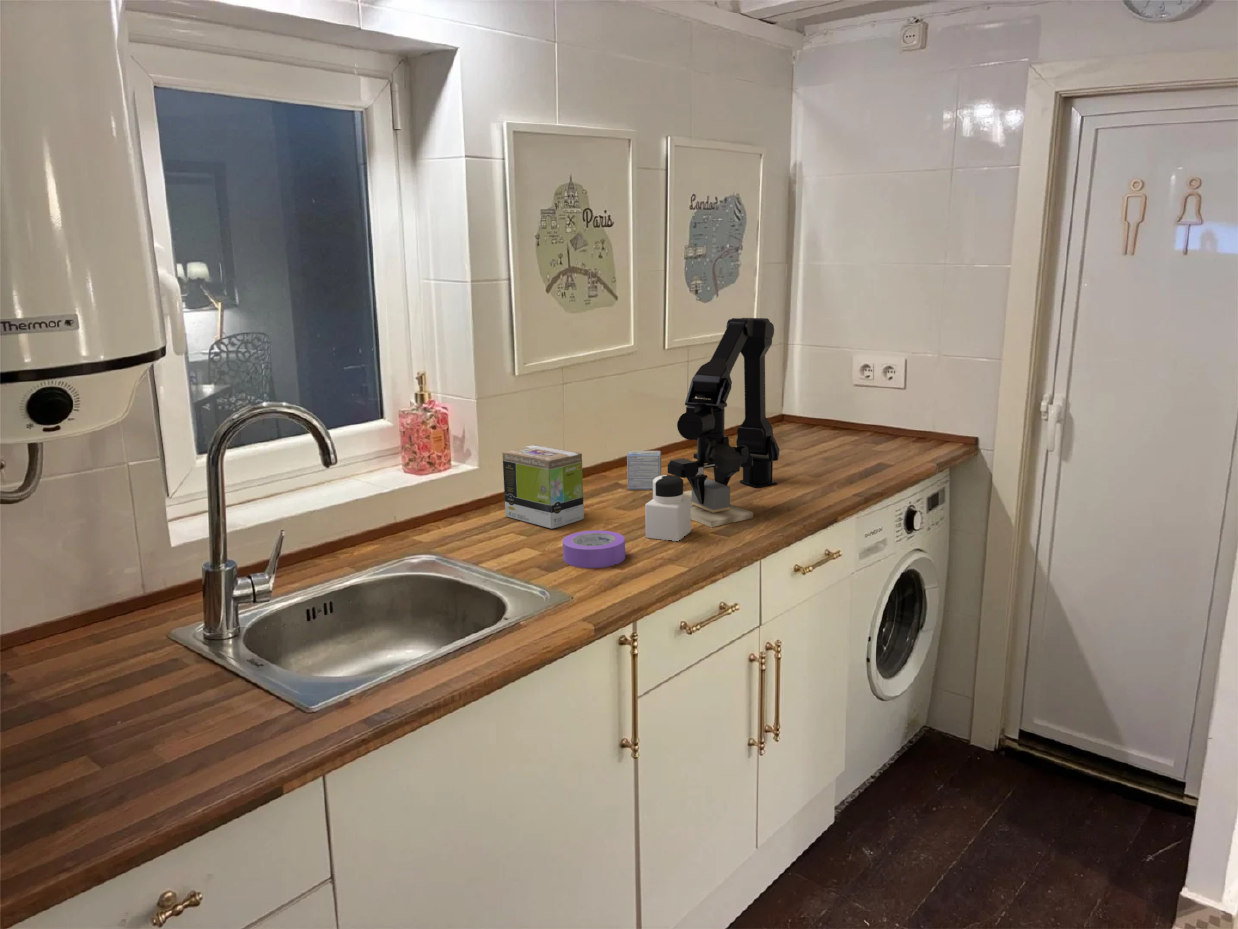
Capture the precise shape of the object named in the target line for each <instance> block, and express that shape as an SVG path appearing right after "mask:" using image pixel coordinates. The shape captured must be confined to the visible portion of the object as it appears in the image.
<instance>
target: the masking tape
mask: <svg viewBox="0 0 1238 929" xmlns="http://www.w3.org/2000/svg"><path fill="white" fill-rule="evenodd" d="M562 559H563V562H564V563H565V564H567V565H569V566H572V567H576V568H582V569H600V568H608V567H612V566H616V565H618V564H619V565H620V563H622V562H624V560H625V559H626V538H625V536H624V535H623V534H621V533H618V532H615V531H610V530H585V531H579V532H578V531H577V532H575V533H571V534H569V535H566V536H565V537H564V538H562ZM615 564H616V565H615Z"/></svg>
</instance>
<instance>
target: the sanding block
mask: <svg viewBox="0 0 1238 929" xmlns="http://www.w3.org/2000/svg"><path fill="white" fill-rule="evenodd" d="M691 490H692V504H693V505H695V506H697V507H700V508H702V509H705V510H707V511H710V512H712V513H715V512H720V511H725V510H730V504H731V486H729V485H727V486H726V485H724V484H721V483H718V482H715V480H712V479H709V478H706V480H705V482H704V504H700V503H699V501H698V499H697V497H696V495H695V493H694V490H693V488H692V487H691Z"/></svg>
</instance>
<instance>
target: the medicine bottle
mask: <svg viewBox="0 0 1238 929" xmlns="http://www.w3.org/2000/svg"><path fill="white" fill-rule="evenodd" d="M683 492H684V480H683V478H681V477H678V476H675V475H672V474H664V475H662V474H661V476H658V477H656V478H655V479H654V480H653V490H652V498H654V499H652V498H651V500H649V501H648V502H647V503H645V504H644V506H645V508H644V509H645V510H644V511H645V512H644V513H645V514H644V516H645V518H644V519H645V520H644V521H645V523H644V524H645V538H647V539H652V540H660V539H661V540H662V541H668V540H672V541H671V542H676V541H678V542H680V541H681V540H682V539H683V538H685V537H686V536H687V535H688V534H690V532H692V519H691V499H690V498H683ZM684 536H685V537H684ZM661 540H660V541H661ZM679 540H680V541H679Z"/></svg>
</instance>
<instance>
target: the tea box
mask: <svg viewBox="0 0 1238 929" xmlns="http://www.w3.org/2000/svg"><path fill="white" fill-rule="evenodd" d="M502 468H503V469H502V473H503V474H502V475H503V489H504V490H503V492H504V511H505V517H508V518H511V519H514V520H518V521H521V522H526V523H530V524H533V525H535V526H536V525H537V526H541V527H545V528H548V529H557V528H560V527H564V526H566V525H570V524H573V523H576V522H580V521H582V520H584V517H585V516H584V515H585V514H584V513H585V512H584V506H585V505H584V480H583V478H584V477H583V453H582V452H578V451H573V450H567V449H561V448H556V447H550V446H544V445H538V444H533V445H528V446H523V447H519V448H514V449H510V450H506V451H505V450H504V451H502Z"/></svg>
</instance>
